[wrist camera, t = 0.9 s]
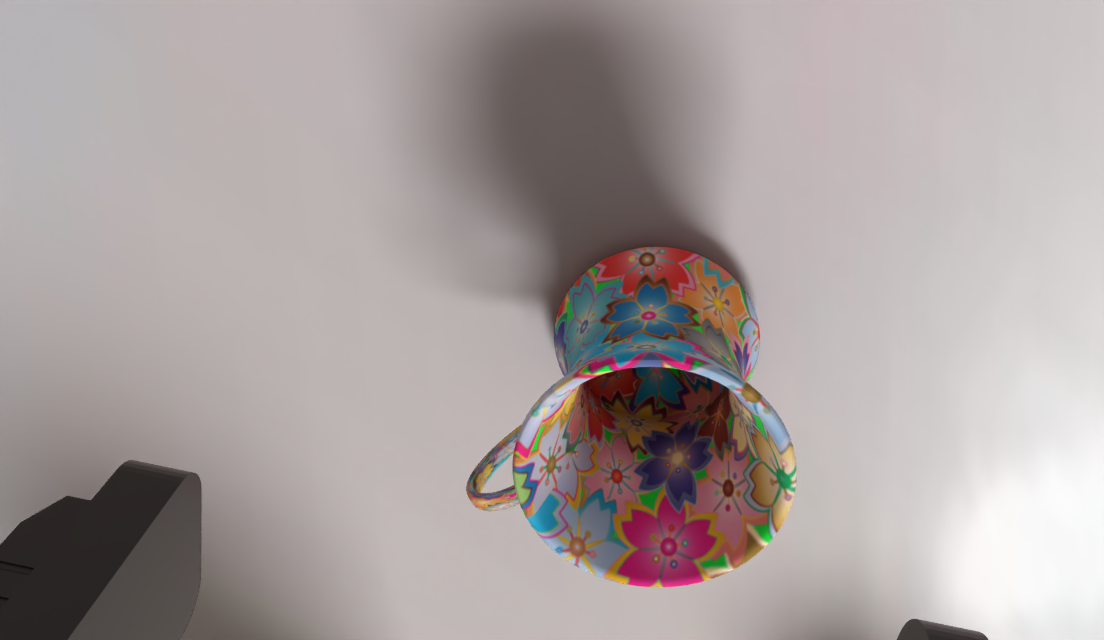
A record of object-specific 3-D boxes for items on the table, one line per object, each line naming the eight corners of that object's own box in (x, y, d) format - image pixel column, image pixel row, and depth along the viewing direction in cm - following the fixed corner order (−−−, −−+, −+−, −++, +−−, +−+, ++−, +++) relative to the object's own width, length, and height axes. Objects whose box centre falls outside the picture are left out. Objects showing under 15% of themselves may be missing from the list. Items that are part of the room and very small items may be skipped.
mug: (723, 195, 38) (741, 317, 29) (796, 386, 42) (833, 550, 32) (454, 294, 42) (392, 433, 32) (543, 463, 45) (510, 633, 36)
